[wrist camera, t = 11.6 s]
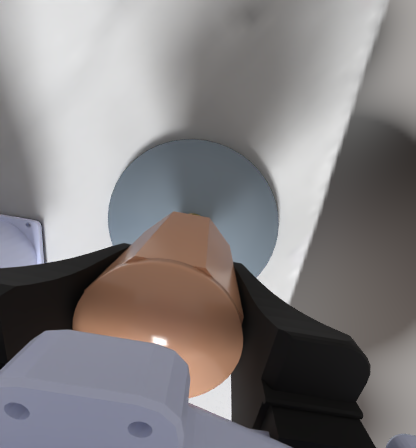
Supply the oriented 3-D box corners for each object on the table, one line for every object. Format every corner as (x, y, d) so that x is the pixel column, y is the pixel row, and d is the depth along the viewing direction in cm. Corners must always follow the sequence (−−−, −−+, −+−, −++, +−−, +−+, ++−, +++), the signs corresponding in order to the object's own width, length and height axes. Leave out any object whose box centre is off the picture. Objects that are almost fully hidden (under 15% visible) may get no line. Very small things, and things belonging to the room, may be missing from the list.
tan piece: (139, 283, 14) (74, 387, 8) (146, 205, 13) (69, 249, 6) (219, 297, 15) (224, 410, 8) (237, 221, 13) (262, 283, 6)
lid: (110, 283, 21) (106, 288, 20) (116, 125, 17) (110, 122, 16) (253, 306, 22) (254, 313, 21) (296, 158, 17) (301, 158, 16)
